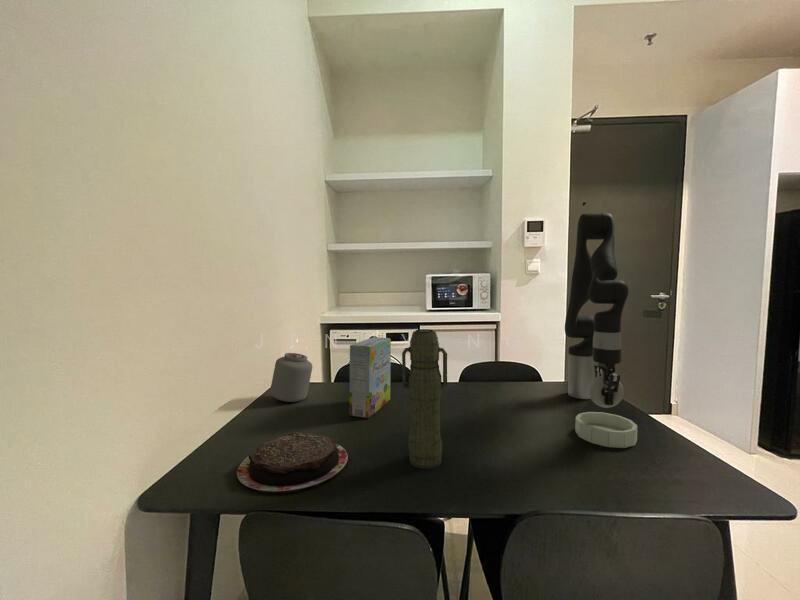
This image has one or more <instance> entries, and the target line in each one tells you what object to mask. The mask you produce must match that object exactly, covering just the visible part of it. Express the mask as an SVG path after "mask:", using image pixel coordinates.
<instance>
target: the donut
mask: <svg viewBox="0 0 800 600" xmlns="http://www.w3.org/2000/svg"><path fill="white" fill-rule="evenodd" d="M605 381H606V382H608V381H607V380H605ZM607 386H608V385H607ZM614 387H615V386H614ZM603 388H604V384H603V381H602V376H599V377H597V378H593V381H592V383H591V385H590V388H589V395H590V398H591V399H590V400H591V401H592V402H593V403H594V404H595V405H596V406H599V407H601V408H605V409H608V408H613V407H616V406H618V405H619V404H620V403H621V401H622V399H623V397H624V393H625V392H624V386H623V385H622V383H621V381H619V386H618V391H617V392H615V393H613V405H606V404H605V403H604V400H605V396H602V394H601V391H602V389H603Z"/></svg>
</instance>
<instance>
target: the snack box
mask: <svg viewBox="0 0 800 600" xmlns="http://www.w3.org/2000/svg"><path fill="white" fill-rule="evenodd" d="M391 341H392V339H391V338H390V337H377V336H376V337H375V336H374V337H370V338H368V339H364V340H361V341H359V342H355V343H353V344H351V345H349V398H348V399H349V401H348V403H349V405H348V406H349V407H348V409H349V412H348V414H349V416H350V417H351V416H352V417H356V418H365V419H370V418H371V417H372V416H373V415H374V414H376V413H377V412H378V411H379V410H380V409H382V406H383V407H384V406H385V405H386V404H387V403H388V401H389V400H390V401H391V364H392V363H391V359H392V357H391V351H392V350H391V348H392V347H391V345H392V343H391ZM390 401H389V402H390Z"/></svg>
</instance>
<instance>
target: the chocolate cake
mask: <svg viewBox="0 0 800 600" xmlns="http://www.w3.org/2000/svg"><path fill="white" fill-rule="evenodd" d="M348 455H349V454H348V453H347V451H346V449H345V448H344V447H342V445H340V444H338V443H337V439H336V438H334V437H331V438H329V437H328V436H325V435H320V434H316V433H315V434H314V433H309V432H291V433H287V434H286V435H285V434H284V435H282V436H278V437H276V438H274V439H272V440H269V441H266V442H264V443H261V444H260V446H258V447H257V448H256V449H254V450H252V451H251V452H249V454H248V456H247V457H246V458H244V459H243V460H242V461H241V463H240V464H239V466H238V467H237V470H236V478H237V480H238V481H239V483H240V484H241V485H242V486H244V487H247V488H248V489H249V488H250V489H252V490H257V491H258V492H260V493H262V494H290V493H301V492H302V491H304V490H305V489H307V488H313V487H314V488H315V487H319V486H321V485H323V484H324V483H326V481H327V480H331V479H334V478H335V479H336V478H337V476H338V474H339V473H340V472H341V471H343V469H344V468H345V467H346V465H347V462H348V460H349V456H348Z"/></svg>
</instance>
